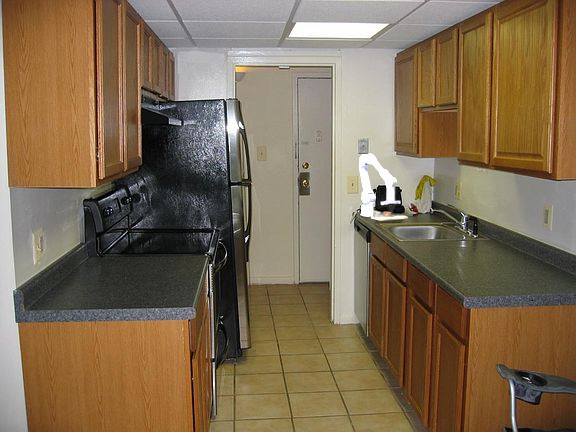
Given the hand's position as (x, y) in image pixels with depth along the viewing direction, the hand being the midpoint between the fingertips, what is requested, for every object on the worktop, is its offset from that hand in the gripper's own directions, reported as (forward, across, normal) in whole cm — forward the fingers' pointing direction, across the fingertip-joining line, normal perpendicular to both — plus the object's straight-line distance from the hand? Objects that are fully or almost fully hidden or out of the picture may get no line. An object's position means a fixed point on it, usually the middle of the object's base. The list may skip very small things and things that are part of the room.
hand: (390, 214), depth 440 cm
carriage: (+1, -3, -2) cm, 4 cm away
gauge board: (+2, -2, -2) cm, 4 cm away
